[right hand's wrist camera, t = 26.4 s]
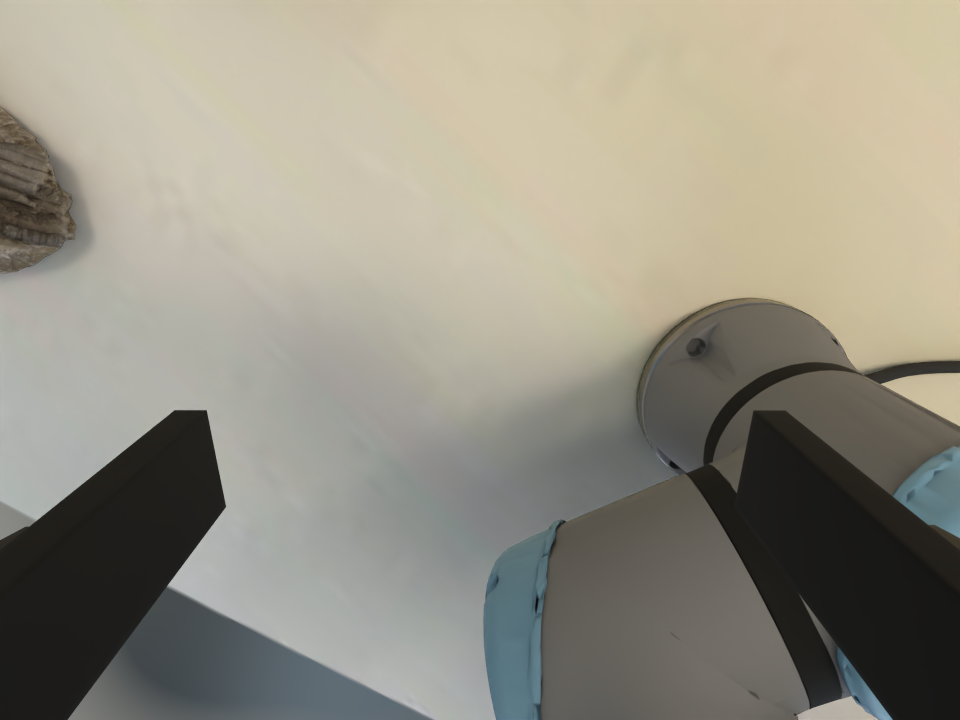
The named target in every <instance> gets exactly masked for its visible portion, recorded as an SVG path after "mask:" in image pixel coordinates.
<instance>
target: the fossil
mask: <svg viewBox="0 0 960 720" xmlns="http://www.w3.org/2000/svg"><path fill="white" fill-rule="evenodd" d="M71 204H72V198H71V195H70V194H68V193H66V192H65V191H63V190H61V188H60V186H59V184H58V182H57V181H56V178H55V175H54V172H53V169H52V166H51V164H50V163H49V156H48V155H47V152H46V151H45V150H44V149H43V148H42V147H41V146H40V145H39V144H38V143H37V142H36V137H34V136H33V135H32V134H30V133H29V132H27V131H26V130H24V129H23V128H21V126H20V125H19V124H18V123H17V122H16V121H15V119H14V118H13V117H11V116H10V115H9V114H8V113H7V112H6V111H4V110H3V109H1V108H0V273H10V272H16V271H19V270H21V269H23V268H25V267H29V266H33V265H35V264H36V263H38V262H40V261H41V260H42V259H43V258H44V257H46V256H48V255H50V254H52V253H54V252H56V251H57V250H58V249H59V248H61V247H62V245H63V243H64V241H65V240H68V239H75V228H76V225H75V223H74V221H73V219H72V218H71V216H70V214H69V210H70V208H71Z"/></svg>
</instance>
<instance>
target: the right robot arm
mask: <svg viewBox="0 0 960 720" xmlns="http://www.w3.org/2000/svg"><path fill="white" fill-rule="evenodd" d="M932 373H960V361H941V362H923V363H913V364H906V365H900V366H895V367H892V368H888V369H885V370H882V371H879V372H875V373H872V374H868V375H862V374H860V373H859V372H858V371H857V370H856V368H855V367H854V366H853V365H852V363H851V362H850V361H849V359H848V358H847V356H846V353H845V351H844V350H843V348H842V346H841V345H840V343H839V342H838V340H837V339H836V338H835V337H834V335H833V334H832V333H831V332H830V331H829V330H828V329H827V328H826V327H825V326H824V325H822V324H821V323H820V322H819V321H818V320H816V319H815V318H813V317H812V316H810V315H808V314H806V313H804V312H802V311H800V310H798V309H796V308H794V307H792V306H789V305H786V304H784V303H781V302H777V301H773V300H767V299H756V298H749V299H737V300H731V301H727V302H722V303H719V304H716V305H713V306H710V307H708V308H706V309H703V310H701V311H699V312H697V313H696V314H694V315H692V316H690V317H689V318H687V319H686V320H684V321H683V322H681V323H680V324H679V325H678V326H676V327H675V328H674V329H673V330H672V331H671V332H670V333H669V334H667V336H666V337H665V338H664V339H663V340H662V341H661V342H660V344H659V345H658V346H657V347H656V349H655V350H654V352H653V353H652V355H651V357H650V358H649V360H648V362H647V364H646V366H645V368H644V371H643V374H642V376H641V380H640V383H639V389H638V397H637V408H638V416H639V421H640V424H641V427H642V430H643V432H644V435H645V436H646V438H647V440H648V442H649V443H650V445H651V447H652V448H653V450H654V451H655V453H656V454H657V455H658V457H659V458H660V459H661V460H662V461H663V462H664V463H665V464H666V465H667V466H668V467H669V468H670V469H672V470H673V471H674V472H675V473H677V474H678V475H679V476H676V477H674V478H672V479H669V480H667V481H664V482H662V483H659V484H657V485H655V486H652V487H650V488H647V489H645V490H643V491H640V492H638V493H635V494H633V495H630V496H628V497H626V498H623V499H621V500H618V501H616V502H613V503H611V504H609V505H606V506H604V507H601V508H599V509H597V510H594V511H592V512H589V513H587V514H584V515H582V516H580V517H577V518H575V519H572V520H570V521H567V522H566V521H564V520H559V521H556V522H554V523H553V524H552V525H551V526H550V528H549V529H547V530H545V531H543V532H541V533H539V534H537V535H534V536H532V537H530V538H528V539H526V540H524V541H522V542H520V543H518V544H516V545H513V546H512V547H510V548H508V549H507V550H506V551H505V552H503V553H502V554H501V556H500V557H499V558H498V559H497V561H496V563H495V564H494V566H493V568H492V570H491V573H490V576H489V579H488V583H487V588H486V598H485V604H484V620H483V621H484V648H485V659H486V668H487V675H488V682H489V688H490V693H491V698H492V703H493V708H494V712H495V717H496V720H798V717H797V715H798V714H800V713H802V712H804V711H806V710H808V709H811V708H813V707H816V706H820V705H823V704H826V703H829V702H832V701H835V700H838V699H842V698H845V697H849V696H852V697H853V699H854V700H855V702H856V703H857V704H859V705H860V706H862V707H863V708H864V710H865V711H866V712H868V713H870V714H872V715H873V716H875V717H876V718H877V719H878V720H960V426H958V425H956V424H954V423H952V422H950V421H948V420H947V419H945V418H943V417H941V416H939V415H937V414H935V413H933V412H931V411H930V410H928V409H926V408H924V407H922V406H920V405H918V404H916V403H914V402H912V401H911V400H909V399H907V398H905V397H903V396H901V395H899V394H898V393H896V392H894V391H892V390H890V389H888V388H886V387H885V386H883V385H881V384H882V383H885V382H888V381H891V380H894V379H898V378H901V377H906V376H913V375H921V374H932ZM225 507H226V505H225V500H224V495H223V490H222V485H221V480H220V475H219V470H218V465H217V460H216V455H215V450H214V445H213V440H212V435H211V430H210V425H209V420H208V415H207V410H175V411H173V412H172V413H171V414H170V415H168V416H167V417H166V418H165V419H163V420H162V421H161V422H160V423H158V424H157V425H156V426H155V427H153V428H152V429H151V430H150V431H148V432H147V433H146V434H145V435H143V436H142V437H141V438H140V439H138V440H137V441H136V442H135V443H133V444H132V445H131V446H130V447H128V448H127V449H126V450H125V451H123V452H122V453H121V454H120V455H118V456H117V457H116V458H115V459H113V460H112V461H111V462H110V463H108V464H107V465H106V466H105V467H103V468H102V469H101V470H100V471H98V472H97V473H96V474H95V475H93V476H92V477H91V478H90V479H88V480H87V481H86V482H85V483H83V484H82V485H81V486H80V487H78V488H77V489H76V490H75V491H73V492H72V493H71V494H70V495H68V496H67V497H66V498H65V499H63V500H62V501H61V502H60V503H58V504H57V505H56V506H55V507H53V508H52V509H51V510H50V511H48V512H47V513H46V514H45V515H43V516H42V517H41V518H40V519H38V520H37V521H36V522H35V523H33V524H32V525H31V526H30V527H24V528H22V529H21V530H19V531H17V532H15V533H13V534H11V535H9V536H7V537H6V538H4V539H2V540H0V720H68V718H69V717H70V716H71V714H72V713H73V712H74V710H75V709H76V707H77V706H78V705H79V703H80V702H81V701H82V699H83V698H84V697H85V695H86V694H87V693H88V691H89V690H90V689H91V687H92V686H93V685H94V683H95V682H96V681H97V679H98V678H99V677H100V675H101V674H102V673H103V671H104V670H105V669H106V667H107V666H108V665H109V663H110V662H111V660H112V659H113V658H114V657H115V655H116V654H117V652H118V651H119V650H120V648H121V647H122V646H123V644H124V643H125V642H126V640H127V639H128V638H129V636H130V635H131V634H132V632H133V631H134V630H135V628H136V627H137V626H138V624H139V623H140V622H141V620H142V619H143V617H144V616H145V615H146V614H147V612H148V611H149V610H150V608H151V607H152V605H153V604H154V603H155V601H156V600H157V599H158V597H159V596H160V595H161V593H162V592H163V591H164V589H165V588H166V587H167V585H168V584H169V583H170V581H171V580H172V579H173V577H174V576H175V575H176V573H177V572H178V571H179V569H180V568H181V567H182V565H183V564H184V563H185V561H186V560H187V559H188V557H189V556H190V554H191V553H192V552H193V550H194V549H195V548H196V546H197V545H198V544H199V542H200V541H201V540H202V538H203V537H204V536H205V534H206V533H207V532H208V530H209V529H210V528H211V526H212V525H213V524H214V522H215V521H216V520H217V518H218V517H219V516H220V514H221V513H222V512H223V510H224V509H225Z"/></svg>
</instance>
